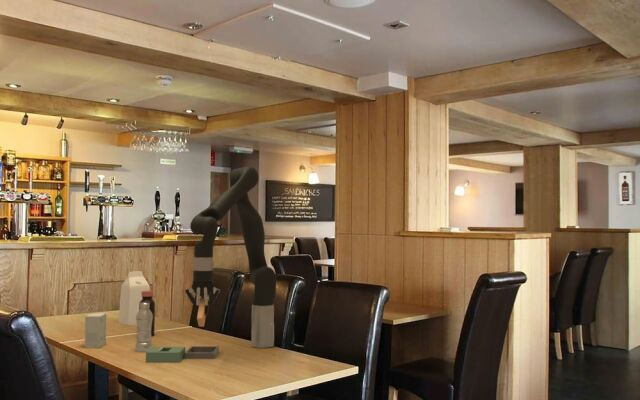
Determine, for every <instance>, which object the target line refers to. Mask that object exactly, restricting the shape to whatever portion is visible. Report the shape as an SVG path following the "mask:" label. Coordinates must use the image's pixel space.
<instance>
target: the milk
mask: <svg viewBox="0 0 640 400" xmlns="http://www.w3.org/2000/svg"><path fill="white" fill-rule="evenodd" d="M150 289H151V287H150V284H149V283H148V281H147V279H146V278H145V276H144V274H143V271H142V270H138V271H135V270H134V271H129V272H128V275H127V277H126V279H125V280H124V281H123V282H122V284H121V287H120V296H119V297H120V299H119V309H118V310H119V311H118V322H119V323H118V324H121V323H122V324H121V325H124V324H125V326H128V325H130V326H137V321H136V315H137V313H138V311H139V302H140V301H141V300H142V291H151V290H150Z"/></svg>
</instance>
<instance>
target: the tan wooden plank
mask: <svg viewBox="0 0 640 400" xmlns="http://www.w3.org/2000/svg"><path fill="white" fill-rule="evenodd" d="M206 317H207V315H205V300H204V297H201V299H200V304H199V310H198V314H197V316H196V320H197V324H198V325H197V326H198V327H205V323H206Z"/></svg>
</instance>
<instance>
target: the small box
mask: <svg viewBox="0 0 640 400" xmlns="http://www.w3.org/2000/svg"><path fill="white" fill-rule="evenodd" d="M106 344H107V312H106V313H105V312H104V313H103V312H102V313H101V312H96V313H95V312H94V313H93V312H92V313H89V314H87V315H85V316H84V348H85V349H101V348H102V347H103V346H105V345H106Z"/></svg>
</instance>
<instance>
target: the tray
mask: <svg viewBox="0 0 640 400" xmlns="http://www.w3.org/2000/svg"><path fill="white" fill-rule="evenodd" d="M219 352H220V346H215V345H213V346H205V345H204V346H203V345H200V346H197V345H194V346H192V345H191V346H190V347H188V349H187V350H185V353H184V358H183V359H184V360H186V359H187V360H188V359H189V360H193V359H194V360H196V359H197V360H199V359H200V360H203V359H205V360H207V359H208V360H214V359H215V358H216V357H217V355H218V354H219Z"/></svg>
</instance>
